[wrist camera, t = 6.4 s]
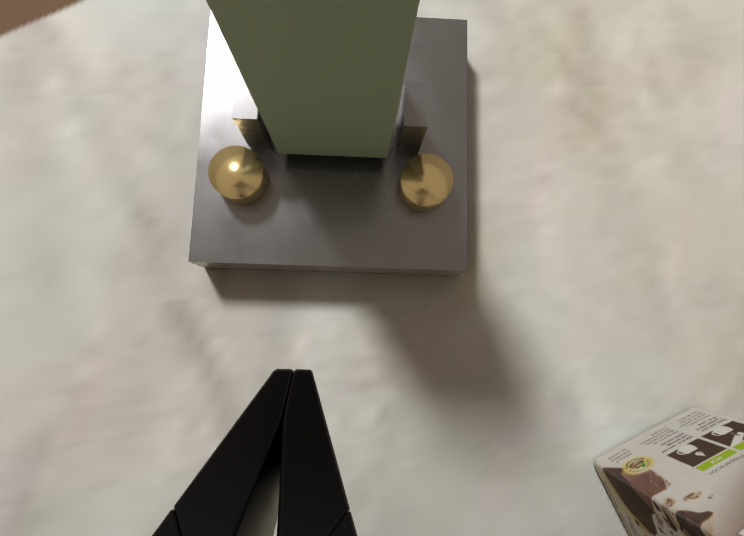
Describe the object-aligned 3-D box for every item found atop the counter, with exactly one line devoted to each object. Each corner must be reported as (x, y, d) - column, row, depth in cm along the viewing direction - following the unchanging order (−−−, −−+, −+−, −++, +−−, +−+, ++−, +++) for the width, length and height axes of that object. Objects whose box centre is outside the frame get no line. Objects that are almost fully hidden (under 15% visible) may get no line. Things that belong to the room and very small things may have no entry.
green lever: (390, 162, 20) (457, -126, 7) (276, 158, 20) (124, -149, 7) (392, 103, 20) (458, -279, 7) (279, 97, 20) (141, -304, 7)
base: (457, 275, 22) (489, 260, 17) (204, 267, 21) (156, 249, 16) (457, 45, 24) (486, -33, 18) (223, 33, 23) (185, -51, 18)
